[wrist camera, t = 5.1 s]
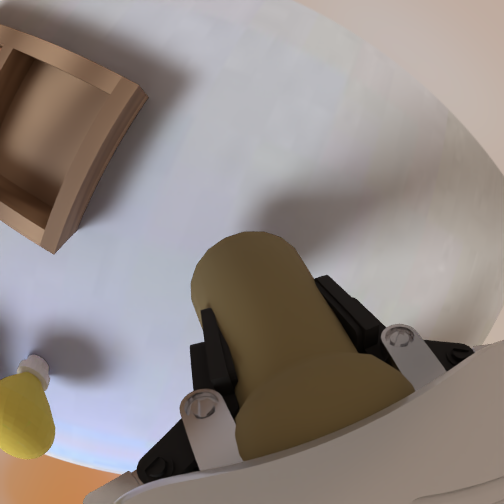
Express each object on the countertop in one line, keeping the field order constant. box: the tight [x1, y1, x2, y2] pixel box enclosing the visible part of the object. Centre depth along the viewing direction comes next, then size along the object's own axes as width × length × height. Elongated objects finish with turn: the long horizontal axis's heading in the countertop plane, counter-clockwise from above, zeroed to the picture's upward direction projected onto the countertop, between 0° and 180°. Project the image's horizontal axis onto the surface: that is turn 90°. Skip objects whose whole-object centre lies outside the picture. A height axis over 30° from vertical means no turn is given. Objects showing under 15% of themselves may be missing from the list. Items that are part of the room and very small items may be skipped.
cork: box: [191, 232, 415, 461], centre depth 10 cm, size 6×6×11 cm
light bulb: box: [0, 355, 55, 459], centre depth 14 cm, size 7×7×10 cm
